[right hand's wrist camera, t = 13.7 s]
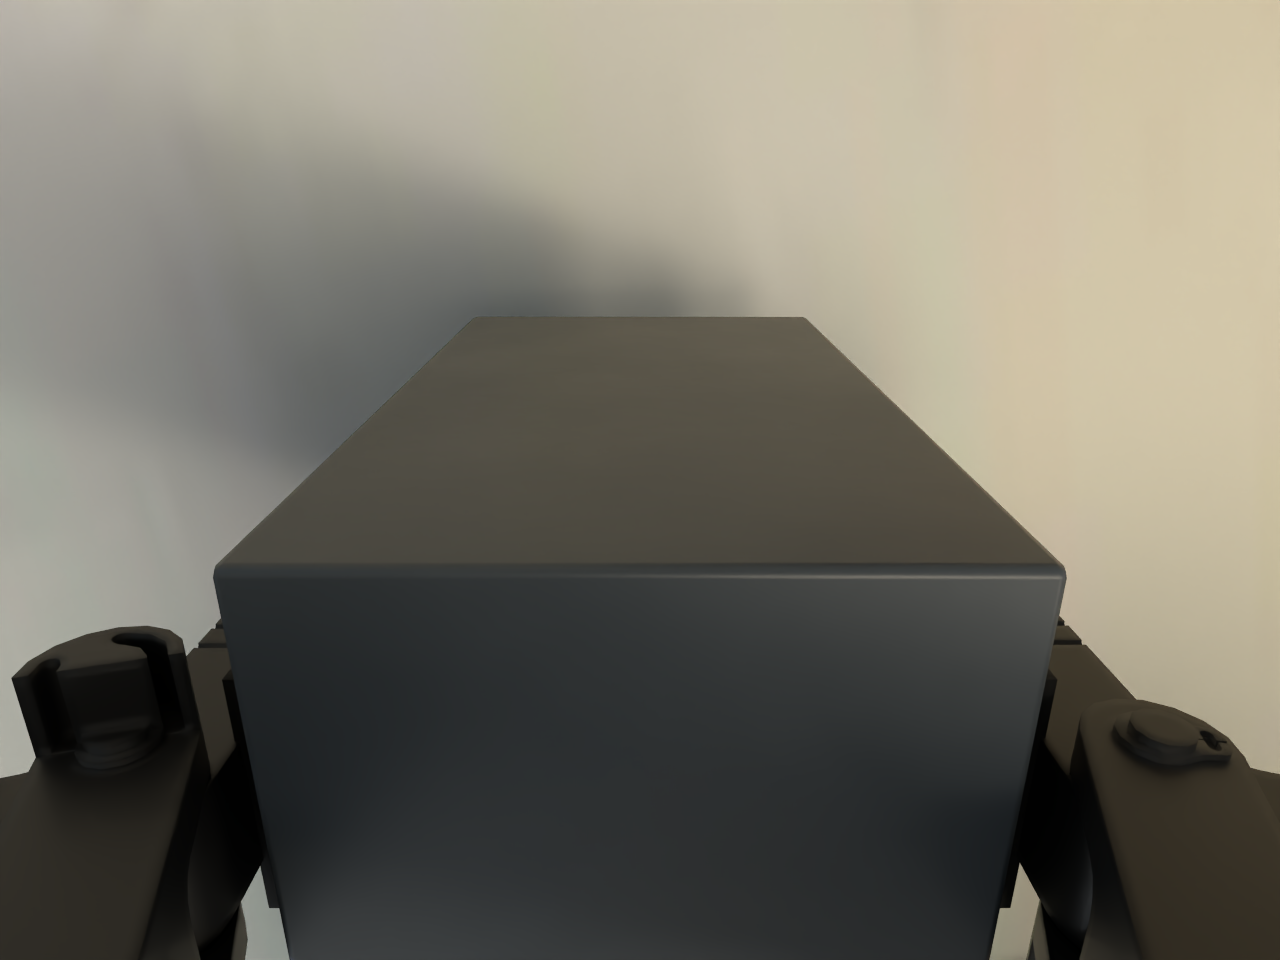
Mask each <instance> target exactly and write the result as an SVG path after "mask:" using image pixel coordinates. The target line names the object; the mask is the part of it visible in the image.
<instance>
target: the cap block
mask: <svg viewBox="0 0 1280 960" xmlns="http://www.w3.org/2000/svg"><path fill="white" fill-rule="evenodd" d="M213 579H214V584H215V589H216V594H217V599H218V604H219V609H220V614H221V619H222V624H223V629H224V634H225V639H226V644H227V649H228V654H229V659H230V664H231V669H232V674H233V679H234V684H235V689H236V694H237V699H238V704H239V709H240V714H241V719H242V724H243V729H244V734H245V739H246V744H247V749H248V754H249V759H250V764H251V769H252V774H253V779H254V784H255V789H256V794H257V799H258V804H259V809H260V814H261V819H262V824H263V829H264V834H265V839H266V844H267V849H268V854H269V859H270V864H271V869H272V874H273V879H274V884H275V889H276V894H277V899H278V903H279V908H280V913H281V918H282V923H283V928H284V933H285V938H286V943H287V948H288V953H289V958H290V960H989V959H990V954H991V949H992V944H993V939H994V934H995V929H996V924H997V919H998V914H999V909H1000V904H1001V899H1002V894H1003V890H1004V885H1005V880H1006V875H1007V870H1008V865H1009V860H1010V855H1011V850H1012V845H1013V840H1014V835H1015V830H1016V825H1017V820H1018V815H1019V811H1020V806H1021V801H1022V796H1023V791H1024V786H1025V781H1026V776H1027V771H1028V766H1029V761H1030V756H1031V751H1032V746H1033V741H1034V736H1035V732H1036V727H1037V722H1038V717H1039V712H1040V707H1041V702H1042V697H1043V692H1044V687H1045V682H1046V677H1047V672H1048V667H1049V662H1050V657H1051V652H1052V648H1053V643H1054V638H1055V633H1056V628H1057V623H1058V618H1059V613H1060V608H1061V603H1062V598H1063V593H1064V588H1065V583H1066V571H1065V568H1064V566H1063V565H1062V564H1061V563H1060V562H1059V561H1058V560H1057V559H1056V558H1055V557H1054V556H1053V555H1052V554H1051V553H1050V552H1049V551H1048V550H1047V549H1046V548H1045V547H1043V546H1042V545H1041V544H1040V543H1039V542H1038V541H1037V540H1036V539H1035V538H1034V537H1033V536H1032V535H1031V534H1030V533H1029V532H1028V531H1027V530H1026V529H1025V528H1024V527H1023V526H1022V525H1021V524H1019V523H1018V522H1017V521H1016V520H1015V519H1014V518H1013V517H1012V516H1011V515H1010V514H1009V513H1008V512H1007V511H1006V510H1005V509H1004V508H1003V507H1002V506H1001V505H1000V504H999V503H998V502H997V501H996V500H994V499H993V498H992V497H991V496H990V495H989V494H988V493H987V492H986V491H985V490H984V489H983V488H982V487H981V486H980V485H979V484H978V483H977V482H976V481H975V480H974V479H973V478H972V477H971V476H969V475H968V474H967V473H966V472H965V471H964V470H963V469H962V468H961V467H960V466H959V465H958V464H957V463H956V462H955V461H954V460H953V459H952V458H951V457H950V456H949V455H948V454H947V453H946V452H944V451H943V450H942V449H941V448H940V447H939V446H938V445H937V444H936V443H935V442H934V441H933V440H932V439H931V438H930V437H929V436H928V435H927V434H926V433H925V432H924V431H923V430H922V429H920V428H919V427H918V426H917V425H916V424H915V423H914V422H913V421H912V420H911V419H910V418H909V417H908V416H907V415H906V414H905V413H904V412H903V411H902V410H901V409H900V408H899V407H898V406H897V405H895V404H894V403H893V402H892V401H891V400H890V399H889V398H888V397H887V396H886V395H885V394H884V393H883V392H882V391H881V390H880V389H879V388H878V387H877V386H876V385H875V384H874V383H873V382H872V381H870V380H869V379H868V378H867V377H866V376H865V375H864V374H863V373H862V372H861V371H860V370H859V369H858V368H857V367H856V366H855V365H854V364H853V363H852V362H851V361H850V360H849V359H848V358H846V357H845V356H844V355H843V354H842V353H841V352H840V351H839V350H838V349H837V348H836V347H835V346H834V345H833V344H832V343H831V342H830V341H829V340H828V339H827V338H826V337H825V336H824V335H823V334H821V333H820V332H819V331H818V330H817V329H816V328H815V327H814V326H813V325H812V324H811V323H810V322H809V321H808V320H807V319H806V318H803V317H476V318H474V319H473V320H471V321H470V322H469V323H468V324H467V325H466V326H465V327H464V328H463V329H462V330H461V331H460V332H459V333H458V334H457V335H456V336H455V337H454V338H453V339H452V340H451V341H450V342H449V343H447V344H446V345H445V346H444V347H443V348H442V349H441V350H440V351H439V352H438V353H437V354H436V355H435V356H434V357H433V358H432V359H431V360H430V361H429V362H428V363H427V364H426V365H425V366H423V367H422V368H421V369H420V370H419V371H418V372H417V373H416V374H415V375H414V376H413V377H412V378H411V379H410V380H409V381H408V382H407V383H406V384H405V385H404V386H403V387H402V388H401V389H399V390H398V391H397V392H396V393H395V394H394V395H393V396H392V397H391V398H390V399H389V400H388V401H387V402H386V403H385V404H384V405H383V406H382V407H381V408H380V409H379V410H378V411H377V412H375V413H374V414H373V415H372V416H371V417H370V418H369V419H368V420H367V421H366V422H365V423H364V424H363V425H362V426H361V427H360V428H359V429H358V430H357V431H356V432H355V433H354V434H353V435H351V436H350V437H349V438H348V439H347V440H346V441H345V442H344V443H343V444H342V445H341V446H340V447H339V448H338V449H337V450H336V451H335V452H334V453H333V454H332V455H331V456H330V457H328V458H327V459H326V460H325V461H324V462H323V463H322V464H321V465H320V466H319V467H318V468H317V469H316V470H315V471H314V472H313V473H312V474H311V475H310V476H309V477H308V478H307V479H306V480H304V481H303V482H302V483H301V484H300V485H299V486H298V487H297V488H296V489H295V490H294V491H293V492H292V493H291V494H290V495H289V496H288V497H287V498H286V499H285V500H284V501H283V502H282V503H280V504H279V505H278V506H277V507H276V508H275V509H274V510H273V511H272V512H271V513H270V514H269V515H268V516H267V517H266V518H265V519H264V520H263V521H262V522H261V523H260V524H259V525H258V526H256V527H255V528H254V529H253V530H252V531H251V532H250V533H249V534H248V535H247V536H246V537H245V538H244V539H243V540H242V541H241V542H240V543H239V544H238V545H237V546H236V547H235V548H234V549H232V550H231V551H230V552H229V553H228V554H227V555H226V556H225V557H224V558H223V559H222V560H221V561H220V562H219V563H218V564H217V565H216V567H215V570H214V575H213Z"/></svg>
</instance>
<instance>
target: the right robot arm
mask: <svg viewBox="0 0 1280 960" xmlns="http://www.w3.org/2000/svg"><path fill="white" fill-rule="evenodd" d="M1081 641H1082V640H1081V639H1080V638H1079V637H1078V636H1077V635H1076V633H1075V632H1074V631H1073V630H1072V629H1071V628H1070V627H1069V626H1065V625H1064V620H1063V619H1062V618H1061V617H1060V616H1059V618H1058V623H1057V628H1056V633H1055V638H1054V643H1053V648H1052V652H1051V657H1050V662H1049V667H1048V672H1047V677H1046V682H1045V687H1044V692H1043V697H1042V702H1041V707H1040V712H1039V717H1038V722H1037V727H1036V732H1035V736H1034V741H1033V746H1032V751H1031V756H1030V761H1029V766H1028V771H1027V776H1026V781H1025V786H1024V791H1023V796H1022V801H1021V806H1020V811H1019V815H1018V820H1017V825H1016V830H1015V835H1014V840H1013V845H1012V850H1011V855H1010V860H1009V865H1008V870H1007V875H1006V880H1005V885H1004V890H1003V894H1002V899H1001V904H1000V908H1010V907H1011V902H1012V897H1013V892H1014V887H1015V882H1016V878H1017V873H1018V868H1019V863H1020V864H1021V865H1022V867H1023V869H1024V871H1025V873H1026V875H1027V877H1028V878H1029V880H1030V882H1031V884H1032V886H1033V888H1034V890H1035V891H1036V893H1037V895H1038V897H1039V899H1040V900H1039V905H1038V909H1037V914H1036V918H1035V923H1034V927H1033V932H1032V936H1031V941H1030V945H1029V950H1028V954H1027V959H1026V960H1280V774H1275V773H1270V772H1265V771H1261V770H1257V769H1253V768H1250V766H1249V765H1248V763H1247V761H1246V759H1245V757H1244V756H1243V754H1242V753H1241V752H1240V751H1239V750H1238V749H1237V747H1236V746H1235V745H1234V744H1233V743H1232V741H1231V740H1230V739H1229V738H1228V737H1226V736H1225V735H1223V734H1222V733H1221V732H1219V731H1218V730H1216V729H1215V728H1213V727H1212V726H1210V725H1209V724H1207V723H1206V722H1204V721H1203V720H1200V719H1198V718H1196V717H1193V716H1191V715H1189V714H1186V713H1184V712H1182V711H1180V710H1177V709H1175V708H1172V707H1168V706H1164V705H1160V704H1156V703H1152V702H1148V701H1144V700H1136V699H1135V698H1134V697H1133V696H1132V694H1131V693H1130V692H1129V691H1128V690H1127V689H1126V688H1125V687H1124V686H1123V685H1122V684H1121V682H1120V681H1119V680H1118V679H1117V678H1116V677H1115V676H1114V675H1113V674H1112V673H1111V672H1110V670H1109V669H1108V668H1107V667H1106V666H1105V665H1104V664H1103V663H1102V662H1101V661H1100V660H1099V658H1098V657H1097V656H1096V655H1095V654H1094V653H1093V652H1092V651H1091V650H1090V649H1089V648H1088V646H1087V645H1082V643H1081ZM198 644H199V646H198V648H194V649H193V650H192V651H191V652H190V653H189V654H188V655H187V656H186V654H185V649H184V645H183V640H182V638H180V637H179V636H177V635H176V634H175V633H173V632H172V631H170V630H168V629H162V628H156V627H151V626H136V627H118V628H114V629H109V630H104V631H100V632H95V633H90V634H86V635H83V636H81V637H78V638H75V639H73V640H70V641H67V642H65V643H62V644H59V645H56V646H54V647H52V648H51V649H49V650H47V651H46V652H44V653H42V654H40V655H39V656H37V657H35V658H33V659H32V660H30V661H28V662H27V663H26V664H25V665H24V666H23V667H22V668H21V669H20V670H19V671H18V672H17V673H16V674H15V675H14V676H13V677H12V678H11V679H12V682H13V685H14V688H15V691H16V695H17V698H18V701H19V704H20V707H21V711H22V714H23V717H24V720H25V723H26V727H27V730H28V733H29V736H30V739H31V743H32V746H33V749H34V752H35V755H36V759H35V761H34V762H33V764H32V766H31V768H30V770H29V772H27V773H23V774H19V775H14V776H9V777H4V778H0V960H245V955H246V948H247V940H248V939H247V932H246V924H245V918H244V914H243V909H242V905H241V900H242V899H243V897H244V895H245V893H246V891H247V889H248V887H249V886H250V884H251V882H252V880H253V878H254V876H255V874H256V873H257V871H258V869H259V867H260V866H261V871H262V876H263V881H264V885H265V890H266V895H267V900H268V905H269V908H279V903H278V899H277V894H276V889H275V884H274V879H273V874H272V869H271V864H270V859H269V854H268V849H267V844H266V839H265V834H264V829H263V824H262V819H261V814H260V809H259V804H258V799H257V794H256V789H255V784H254V779H253V774H252V769H251V764H250V759H249V754H248V749H247V744H246V739H245V734H244V729H243V724H242V719H241V714H240V709H239V704H238V699H237V694H236V689H235V684H234V679H233V674H232V669H231V664H230V659H229V654H228V649H227V644H226V639H225V634H224V629H223V624H222V619H220V620H219V621H218V622H217V623H216V628H215V629H211V630H210V631H209V632H208V633H207V634H206V635H205V637H204V638H203V639H202V640H201V641H200V642H199V643H198Z"/></svg>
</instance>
